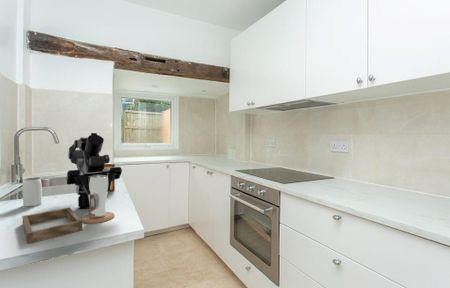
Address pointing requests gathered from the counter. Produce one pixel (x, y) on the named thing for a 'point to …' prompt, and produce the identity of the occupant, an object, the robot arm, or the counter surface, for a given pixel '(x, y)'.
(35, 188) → the can
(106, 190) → the silver metal cup
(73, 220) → the wooden frame
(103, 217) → the terracotta saucer
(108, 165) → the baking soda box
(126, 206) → the counter surface
